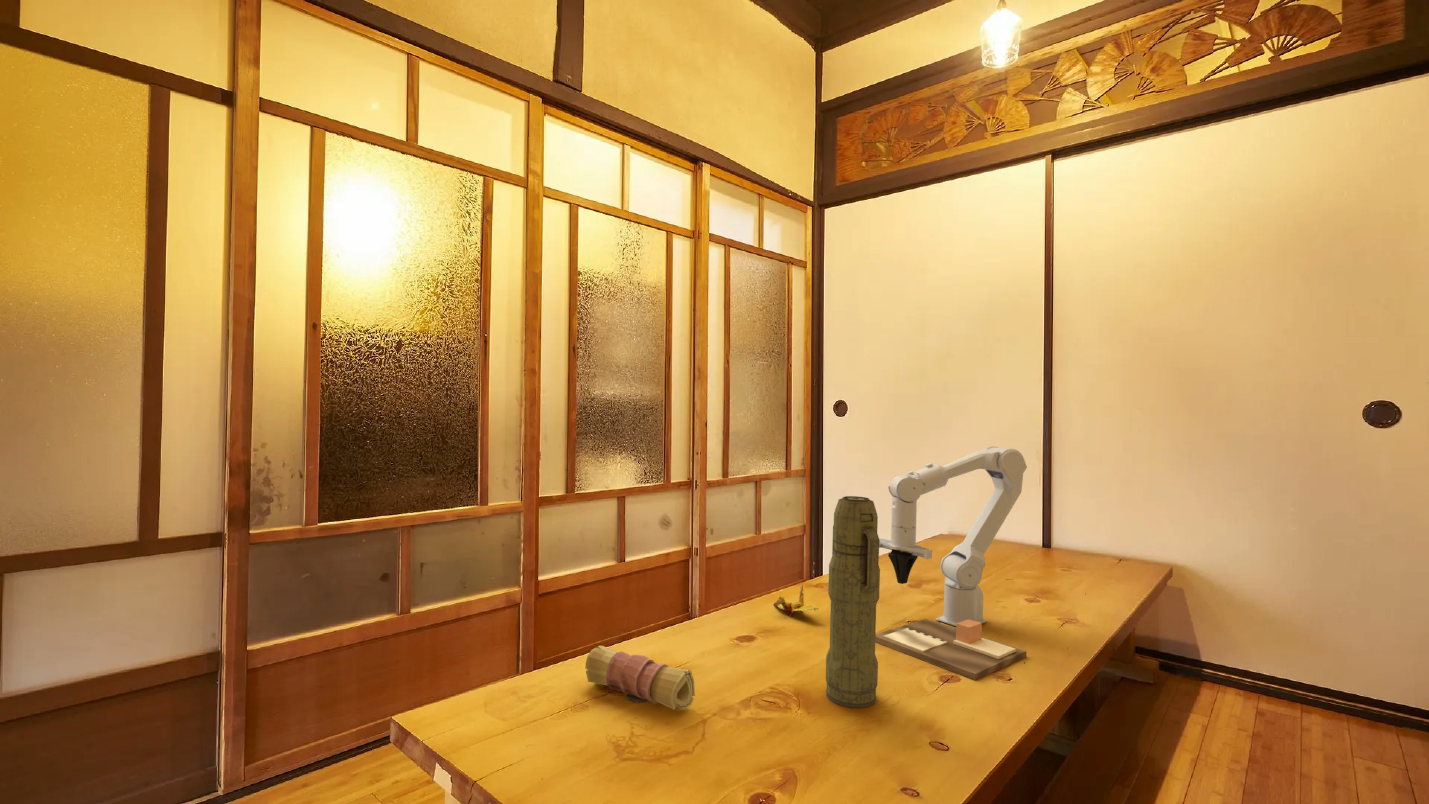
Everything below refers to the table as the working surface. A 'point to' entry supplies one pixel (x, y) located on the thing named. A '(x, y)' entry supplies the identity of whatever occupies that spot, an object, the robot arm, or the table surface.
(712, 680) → the table surface
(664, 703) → the scroll
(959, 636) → the stub
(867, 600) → the thermos
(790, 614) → the origami crane
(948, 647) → the board
